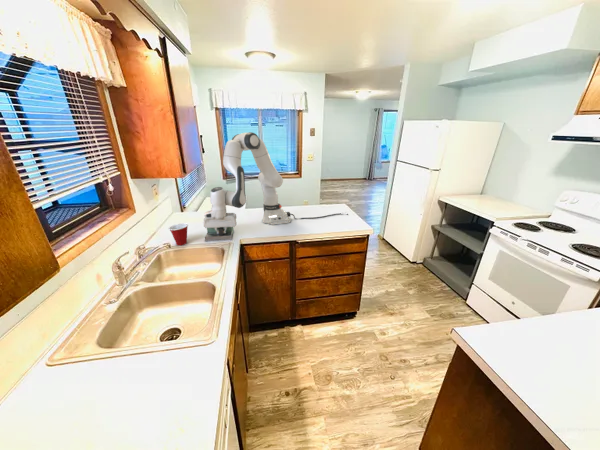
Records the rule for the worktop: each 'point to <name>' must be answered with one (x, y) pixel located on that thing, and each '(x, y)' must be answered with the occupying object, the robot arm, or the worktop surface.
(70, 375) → the worktop surface
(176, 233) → the plastic cup
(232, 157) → the robot arm
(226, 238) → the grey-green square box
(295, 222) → the worktop surface
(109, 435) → the worktop surface
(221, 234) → the slider
